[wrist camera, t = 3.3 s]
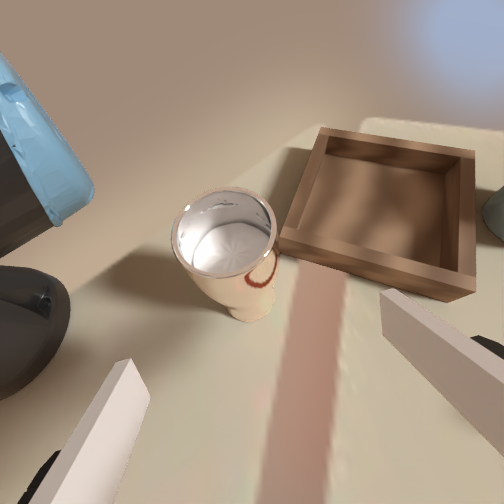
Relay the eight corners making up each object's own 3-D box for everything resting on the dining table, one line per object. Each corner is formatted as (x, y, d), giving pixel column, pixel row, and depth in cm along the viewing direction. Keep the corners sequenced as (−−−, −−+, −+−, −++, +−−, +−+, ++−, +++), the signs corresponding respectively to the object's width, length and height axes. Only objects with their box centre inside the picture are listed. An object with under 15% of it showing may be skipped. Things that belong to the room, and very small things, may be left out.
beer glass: (243, 258, 30) (216, 169, 16) (290, 288, 27) (303, 212, 14) (208, 302, 28) (143, 242, 14) (255, 339, 25) (231, 307, 12)
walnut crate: (278, 252, 30) (279, 236, 26) (316, 150, 37) (320, 127, 33) (447, 302, 25) (476, 291, 21) (453, 174, 32) (474, 150, 29)
